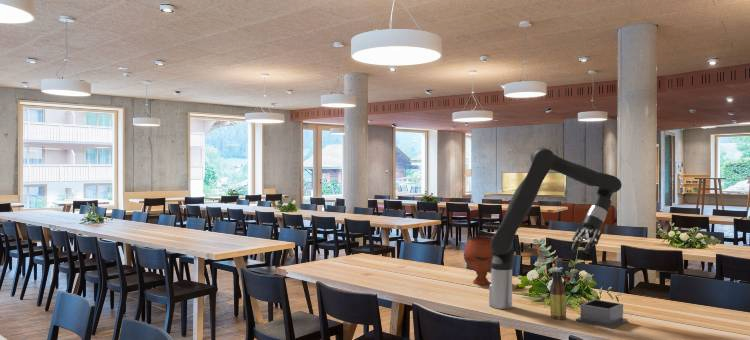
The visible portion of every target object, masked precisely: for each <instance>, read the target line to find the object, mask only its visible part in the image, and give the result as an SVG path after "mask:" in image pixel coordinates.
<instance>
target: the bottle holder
mask: <svg viewBox="0 0 750 340" xmlns="http://www.w3.org/2000/svg"><path fill="white" fill-rule="evenodd" d="M628 320H629V318H624V304H623V303H620V302H619V303H618V302H612V301H606V300H600V299H595V298H594V299H591V300H589V301H586V302H584V303H581V304H580V317H576V318H575V322H577V323H583V324H587V325H592V326H598V327H601V328H602V327H603V328H606V329H607V328H608V329H616V328H618V327H620V326H622V325H623V324H625V323H627V322H628Z"/></svg>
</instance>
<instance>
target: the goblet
mask: <svg viewBox="0 0 750 340" xmlns="http://www.w3.org/2000/svg"><path fill="white" fill-rule="evenodd" d="M492 238H493V236H487V235H477V236H469V237H468V240H467V242H466V244H465V247H464V250H463V261H464V262H465V263H466V265H467V266H468V267H469V268H470V269H471V270H473V271H474V272H475V273H476V277H475V278H474V280H473V281H472V283H473V284H475V285H483V284H484V285H490V281H489V279H488V278H487V275H488V273H490V271H491V262H492V248H491V239H492Z"/></svg>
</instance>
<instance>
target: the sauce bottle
mask: <svg viewBox="0 0 750 340" xmlns="http://www.w3.org/2000/svg"><path fill="white" fill-rule="evenodd" d="M551 275H552V281H551V284H550V289H549V299H550V301H549V303H550V317H551V318H552V319H554V320H560V321H561V320H565V319H567V301H566V299H567V297H566V286H565V284H564V282H563V271H562V270H561V269H552V271H551Z"/></svg>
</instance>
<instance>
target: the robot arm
mask: <svg viewBox="0 0 750 340" xmlns="http://www.w3.org/2000/svg"><path fill="white" fill-rule="evenodd" d="M530 161H531V164H530V168H529V170H528V171H527V174H526V176H525V177H524V179H523V180H522V181H521V182H520V183H519V185H518V186H517V187H516V189H515V192H514V193H513V194H512V197H511V199H510V201H509V203H508V205H507V208H506V210H505V213H504V216H503V219H502V221H501V223H500V225H499V226H498V229H497V230H496V231H495V234H494V235H493V236H492V237H493V238H492V239H491V248H492V262H491V272H490V276H491V277H490V278H491V279H490V281H491V282H490V283H489V284H488V287H489V288H488V289H489V290H488V295H489V296H488V306H490V307H491V308H494V309H499V310H500V309H501V310H503V309H504V310H507V309H511V308H513V260H514V239H515V236H516V234H517V231H518V229H519V228H520V226H521V225H522V223H523V221H524V220H525V219H526V217H527V216H528V214H529V212H530V210H531V209H532V207H533V204H534V202H535V200H536V198H537V195H538V193H539V192H540V188H541V186H542V183H543V181H544V180H545V178H546V177H547V175H548V174H549V172H550V170H551V171H553V172H554V171H555V172H557V173H560V174H562V175H564V176H566V177H568V178H570V179H573V180H574V181H577V182H579V183H581V184H584V185H587V186H589V187H597V189H596V193H595V198H594V200H593V201H592V203H591V206H590V208H589V209H588V211H587V212H586V215H585V216H584V220H583V221H582V226H583V228H582V229H580V228H577V229H576V230H575V233H574V234H573V237H572V239H571V240H572V241H573V242H574V243H573V245H572V247H571V251H573V252H575V253H576V252H577V251H578V250H579V246H580V245H581V243H582V242H585V241H587V243H586V245H585V247H584V249H583V251H584V253H586V254H589V253H590V252H591V249H592V247H593V246H595V245H598V243H599V240H600V239H601V235H602V233H603V232H602V231H601V230H602V229H601V228H602V226H603V224H604V222H605V220H606V217H607V214H608V212H609V210H610V208H611V205H612V198H611V197H612V196H613V194H614V193H617V192H619V191H620V190H621V188H622V184H623V183H622V182H621V180H620V179H619V178H618V177H616V176H615V175H611V174H610V173H609V174H608V173H604V172H599V171H596V170H593V169H592V168H590V167H587V166H584V165H581V164H578V163H575V162H572V161H569V160H567V159H564V158H562V157H561V156H560V157H559V156H557V155H556V154H554V153H553V151H552V150H550V149H549V148H546V147H537V148H535V149H534V150H533V151H532V152H531V154H530Z"/></svg>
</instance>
